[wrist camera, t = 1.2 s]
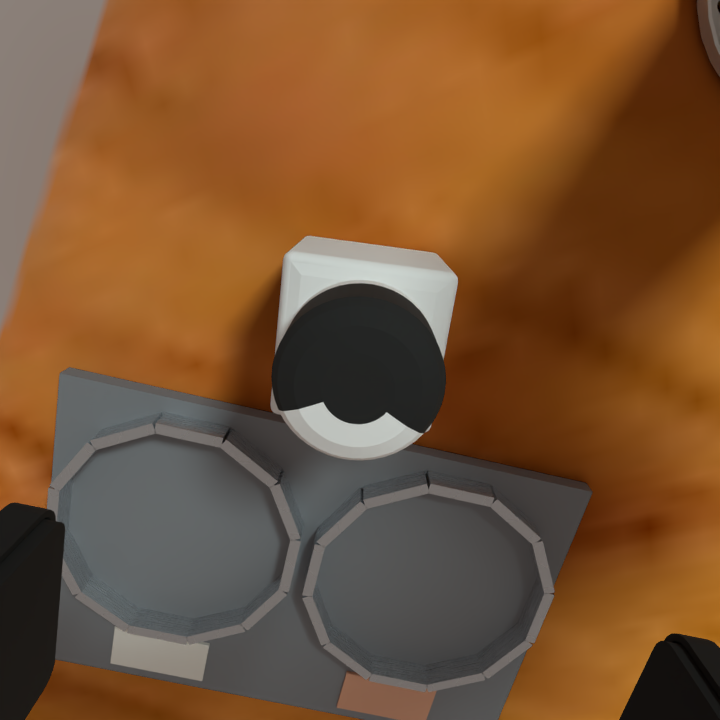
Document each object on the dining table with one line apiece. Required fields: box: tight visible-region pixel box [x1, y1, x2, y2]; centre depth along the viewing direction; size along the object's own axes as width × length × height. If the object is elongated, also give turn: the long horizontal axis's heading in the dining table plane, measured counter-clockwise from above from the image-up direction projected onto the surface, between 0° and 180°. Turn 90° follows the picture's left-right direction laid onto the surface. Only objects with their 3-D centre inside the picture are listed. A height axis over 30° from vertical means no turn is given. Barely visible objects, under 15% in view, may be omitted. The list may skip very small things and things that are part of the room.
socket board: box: [51, 367, 592, 720], centre depth 35 cm, size 20×30×1 cm, turn 77°
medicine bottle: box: [270, 236, 458, 460], centre depth 24 cm, size 7×7×12 cm
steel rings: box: [47, 412, 555, 692], centre depth 33 cm, size 14×29×2 cm, turn 77°
